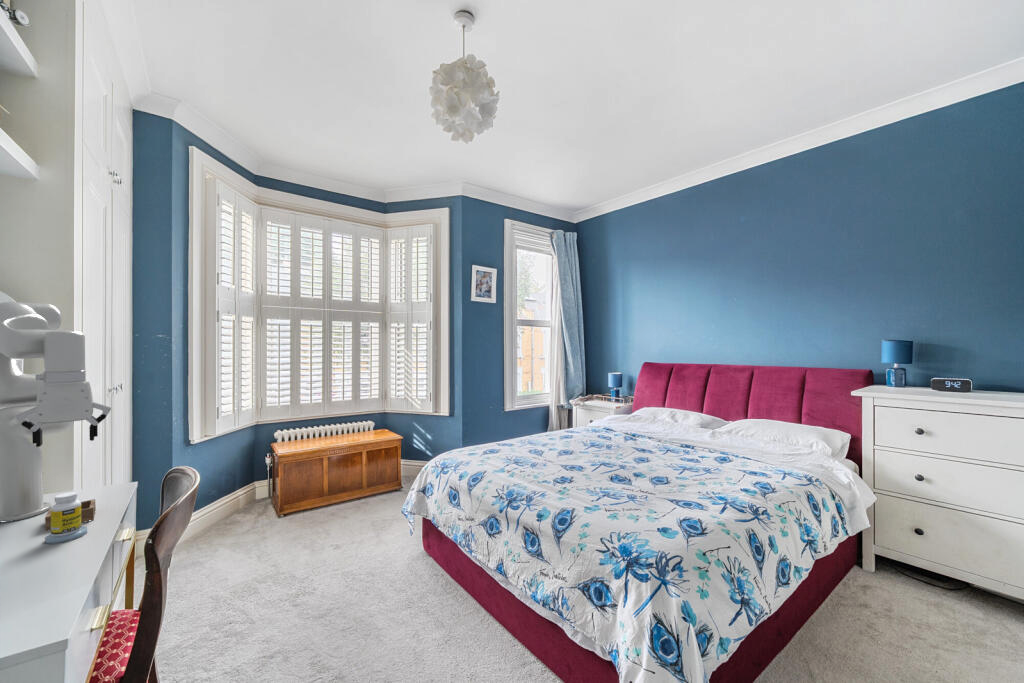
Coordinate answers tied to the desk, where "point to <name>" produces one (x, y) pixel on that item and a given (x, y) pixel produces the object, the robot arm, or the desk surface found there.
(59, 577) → the desk surface
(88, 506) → the walnut holder
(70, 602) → the desk surface
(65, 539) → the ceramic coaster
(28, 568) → the desk surface
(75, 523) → the supplement bottle
